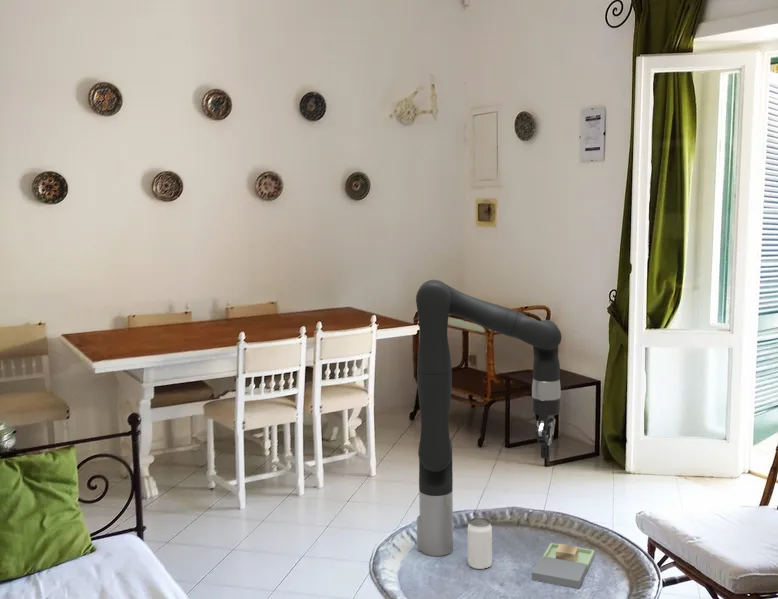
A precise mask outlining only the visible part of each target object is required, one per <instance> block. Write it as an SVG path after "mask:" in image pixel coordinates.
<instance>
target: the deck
mask: <svg viewBox="0 0 778 599" xmlns="http://www.w3.org/2000/svg"><path fill="white" fill-rule="evenodd" d="M587 572H588V570H587V564H584V563H578V562H573V561H567V560H561V559H556V558H550V557H544V556H541V557H540V558H539V560H538V562H537V563H536V565H535V566H534V568H533V570H532V572H531V580H532V579H533V580H532V581H535V582H541V581H542V583H546V582H547V583H548V584H552V583H553V584H552V585H559V586H563V587H567V588H574V589H580V587H581V586H582V583H583V582H584V578H585V576H586V575H587Z"/></svg>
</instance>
